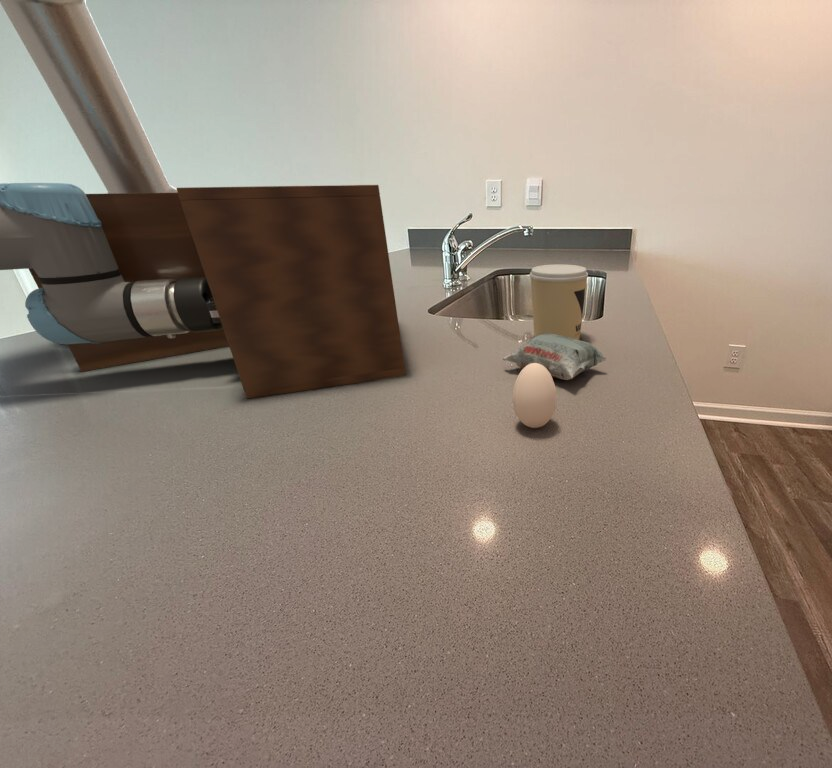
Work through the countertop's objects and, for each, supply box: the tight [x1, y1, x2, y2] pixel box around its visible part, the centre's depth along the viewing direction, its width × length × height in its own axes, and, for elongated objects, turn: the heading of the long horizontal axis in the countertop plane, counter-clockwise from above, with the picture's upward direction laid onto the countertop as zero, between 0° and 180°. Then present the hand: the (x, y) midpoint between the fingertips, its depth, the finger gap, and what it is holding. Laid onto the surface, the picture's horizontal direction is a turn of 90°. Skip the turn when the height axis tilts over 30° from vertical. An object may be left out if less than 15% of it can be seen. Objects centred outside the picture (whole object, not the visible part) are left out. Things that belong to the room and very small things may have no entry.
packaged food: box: [502, 334, 607, 381], centre depth 57 cm, size 9×12×5 cm
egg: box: [512, 363, 558, 429], centre depth 43 cm, size 5×5×7 cm
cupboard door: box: [28, 192, 229, 373], centre depth 65 cm, size 7×26×24 cm, turn 124°
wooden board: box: [175, 184, 407, 399], centre depth 61 cm, size 20×26×24 cm
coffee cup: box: [529, 263, 589, 340], centre depth 68 cm, size 9×9×12 cm
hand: (345, 292), depth 63 cm, fingers open, 13 cm apart
